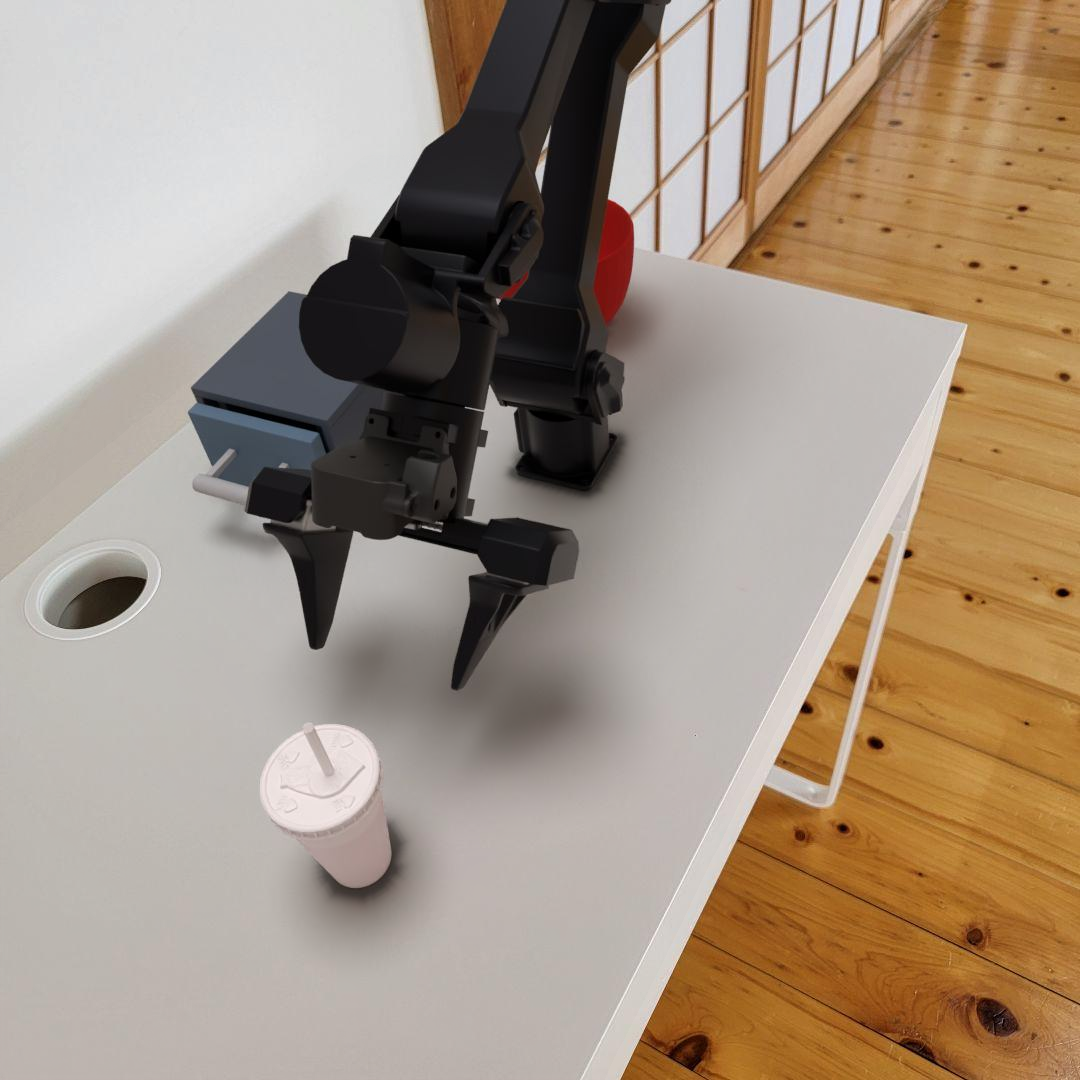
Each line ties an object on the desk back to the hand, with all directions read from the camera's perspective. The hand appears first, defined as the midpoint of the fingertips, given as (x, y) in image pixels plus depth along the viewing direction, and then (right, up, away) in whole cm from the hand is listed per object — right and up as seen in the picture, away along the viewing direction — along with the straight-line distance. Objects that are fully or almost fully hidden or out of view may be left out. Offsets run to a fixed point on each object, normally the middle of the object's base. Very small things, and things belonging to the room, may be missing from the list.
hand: (385, 668), depth 58 cm
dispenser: (-9, +16, +27) cm, 33 cm away
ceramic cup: (+10, +27, +36) cm, 46 cm away
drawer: (-11, +14, +24) cm, 30 cm away
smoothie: (-2, -11, +1) cm, 12 cm away
